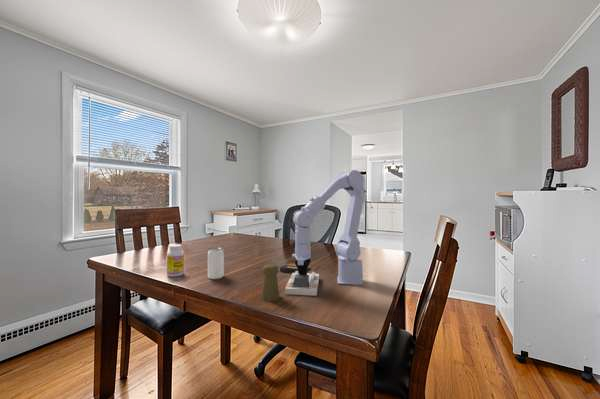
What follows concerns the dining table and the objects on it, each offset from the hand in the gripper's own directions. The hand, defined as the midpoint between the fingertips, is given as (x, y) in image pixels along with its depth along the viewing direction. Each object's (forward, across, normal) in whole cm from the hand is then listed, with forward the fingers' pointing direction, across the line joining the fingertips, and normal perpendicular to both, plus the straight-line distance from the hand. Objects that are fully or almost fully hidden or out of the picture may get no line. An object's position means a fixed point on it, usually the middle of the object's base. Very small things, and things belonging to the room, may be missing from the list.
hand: (302, 279), depth 93 cm
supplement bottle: (+3, -9, -57) cm, 58 cm away
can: (+3, -8, -38) cm, 39 cm away
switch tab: (+1, +3, 0) cm, 3 cm away
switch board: (+3, -2, 0) cm, 3 cm away
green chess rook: (+3, +11, -10) cm, 15 cm away
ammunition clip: (+2, -17, -8) cm, 18 cm away
